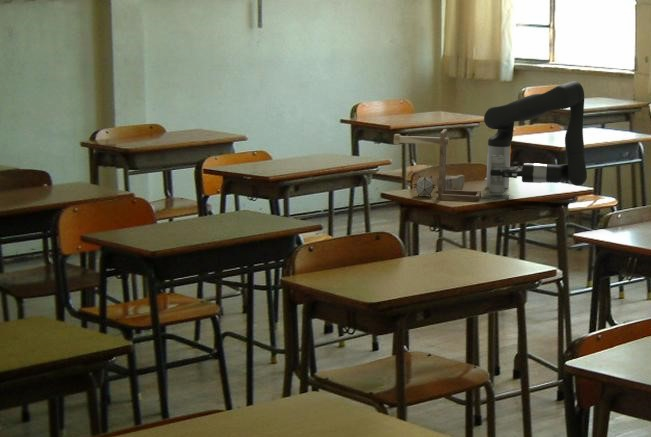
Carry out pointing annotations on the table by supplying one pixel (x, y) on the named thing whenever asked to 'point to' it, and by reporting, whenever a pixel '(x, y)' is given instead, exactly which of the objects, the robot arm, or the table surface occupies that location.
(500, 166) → the energy drink can
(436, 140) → the key bar
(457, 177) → the mineral specimen
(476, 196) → the wooden gallows stand
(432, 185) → the game die
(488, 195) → the mat
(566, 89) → the robot arm
